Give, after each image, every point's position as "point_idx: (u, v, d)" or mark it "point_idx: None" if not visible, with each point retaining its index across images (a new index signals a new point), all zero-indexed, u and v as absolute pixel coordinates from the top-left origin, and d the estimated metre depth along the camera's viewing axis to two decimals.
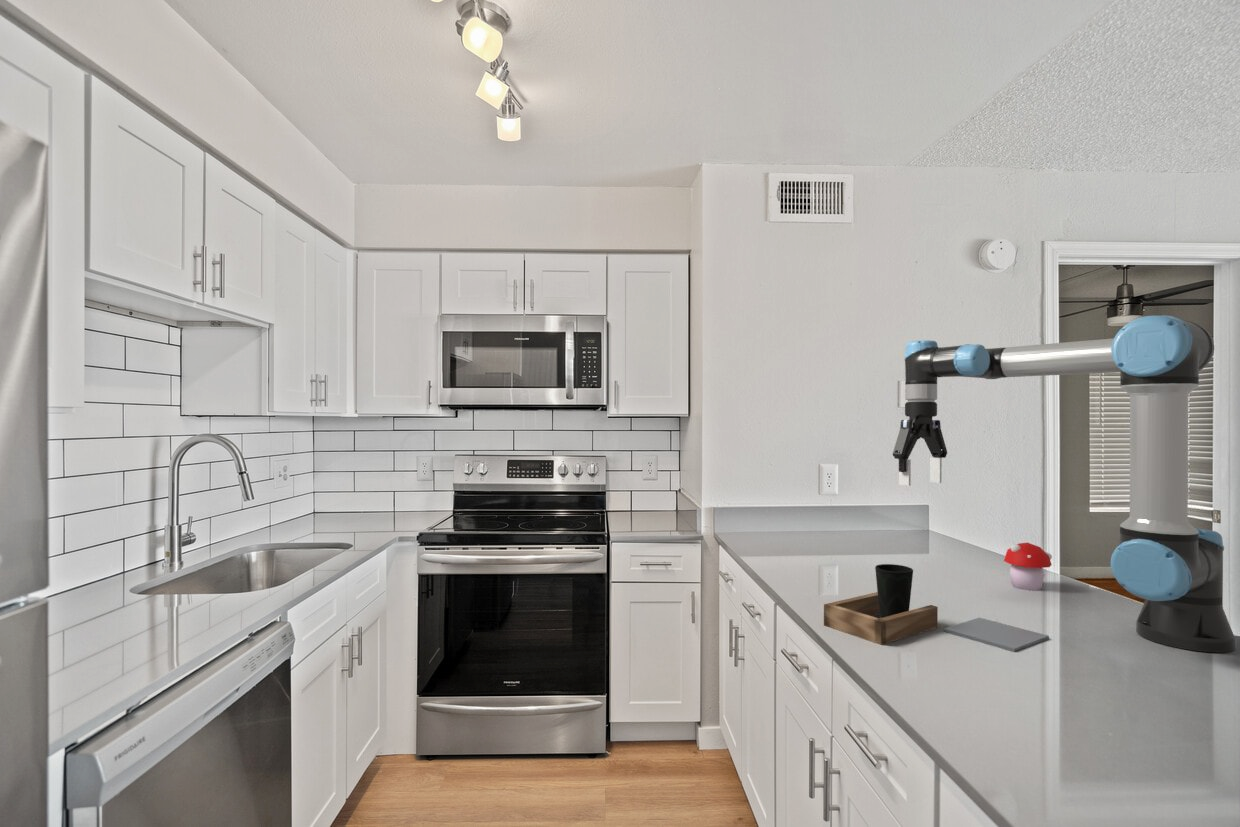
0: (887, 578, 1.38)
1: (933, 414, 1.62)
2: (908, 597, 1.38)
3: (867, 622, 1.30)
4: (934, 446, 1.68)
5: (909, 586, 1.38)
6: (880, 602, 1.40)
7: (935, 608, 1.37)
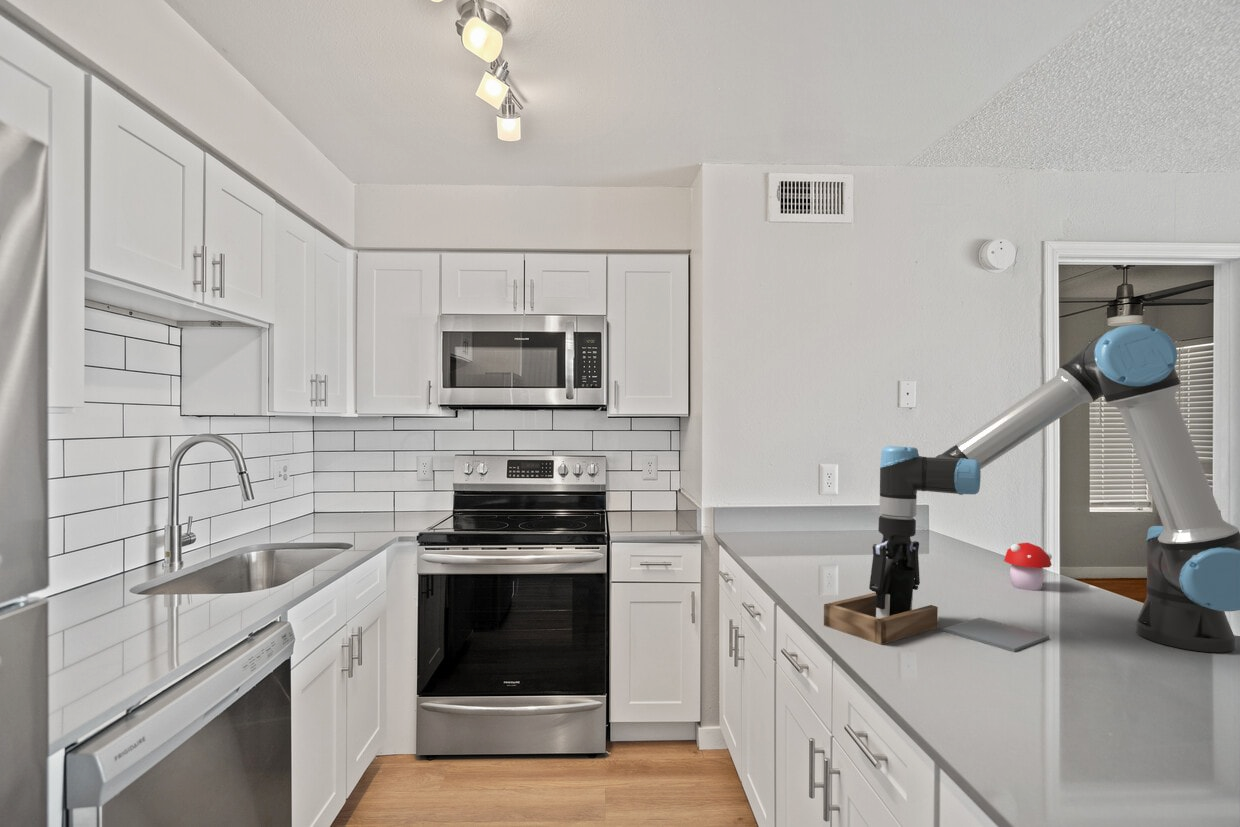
0: None
1: (911, 534, 1.38)
2: (910, 596, 1.38)
3: (867, 622, 1.30)
4: None
5: (911, 585, 1.38)
6: None
7: (935, 608, 1.37)
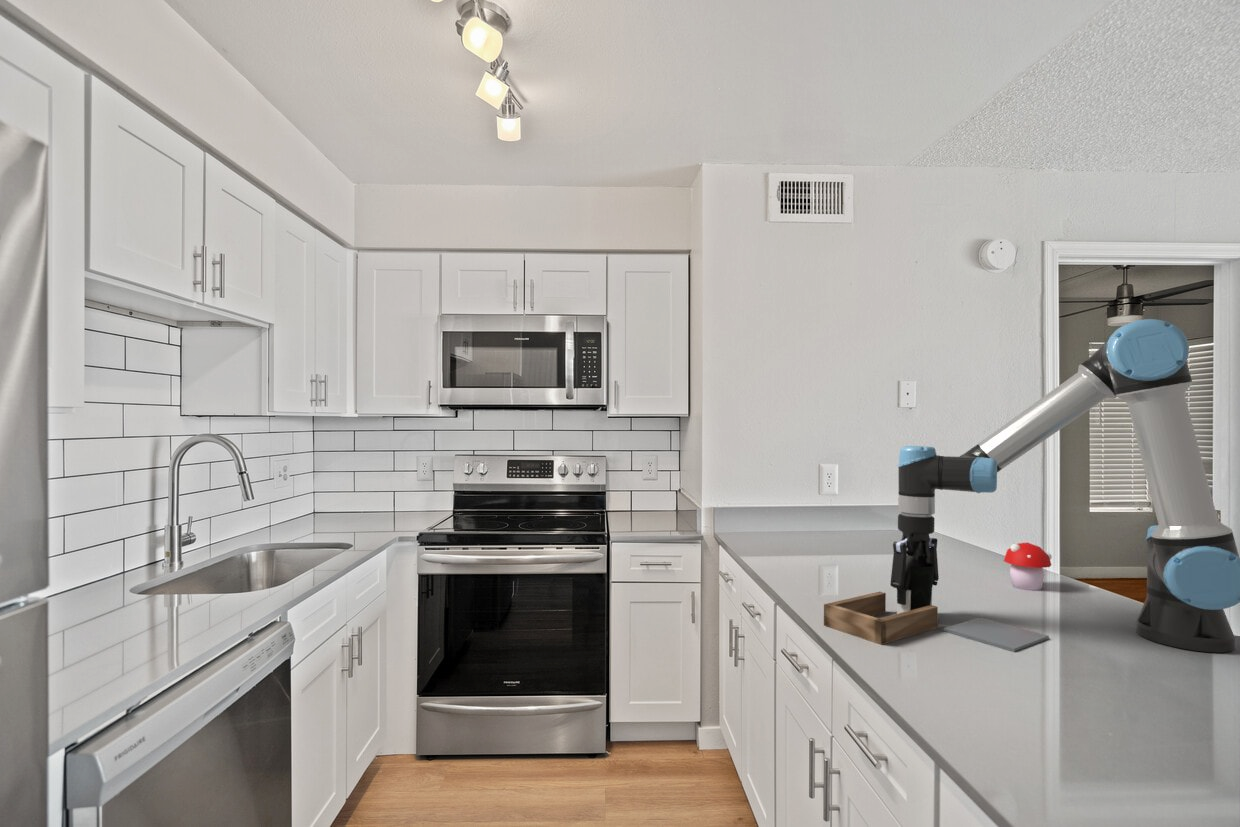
0: None
1: (930, 532, 1.42)
2: (930, 592, 1.42)
3: (867, 622, 1.30)
4: None
5: (931, 581, 1.42)
6: None
7: (935, 608, 1.37)
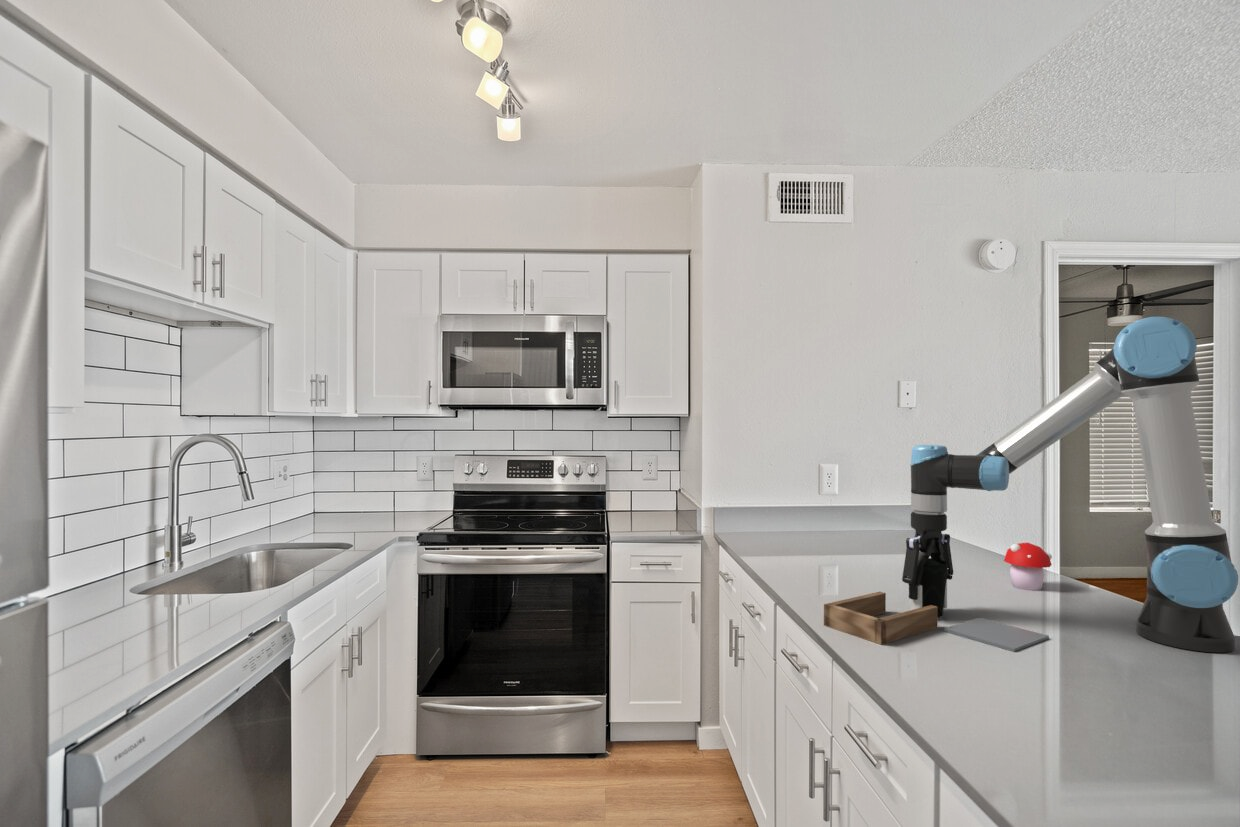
0: (923, 571, 1.45)
1: (942, 529, 1.45)
2: (943, 589, 1.45)
3: (867, 622, 1.30)
4: None
5: (944, 578, 1.45)
6: None
7: (935, 608, 1.37)
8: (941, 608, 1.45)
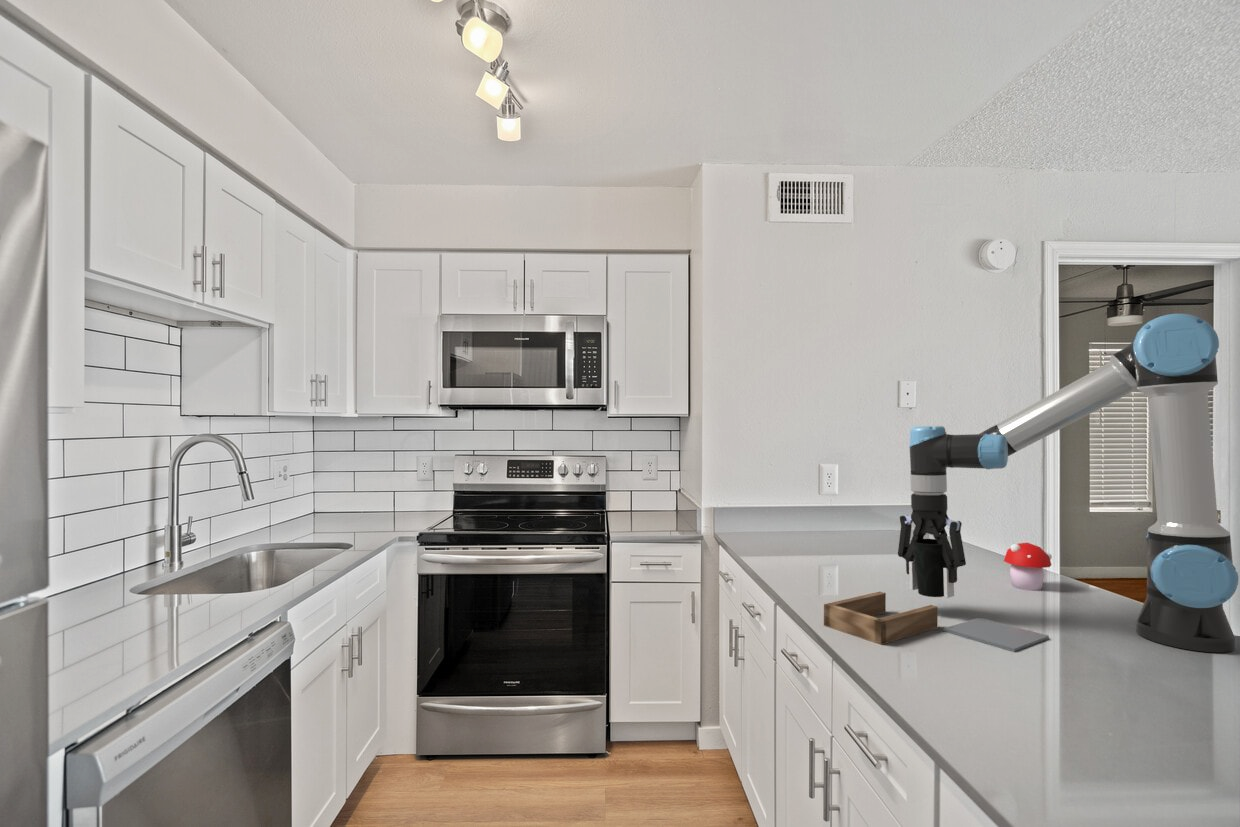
0: (924, 551, 1.45)
1: (918, 509, 1.46)
2: None
3: (867, 622, 1.30)
4: None
5: None
6: (918, 574, 1.47)
7: (935, 608, 1.37)
8: (943, 588, 1.45)
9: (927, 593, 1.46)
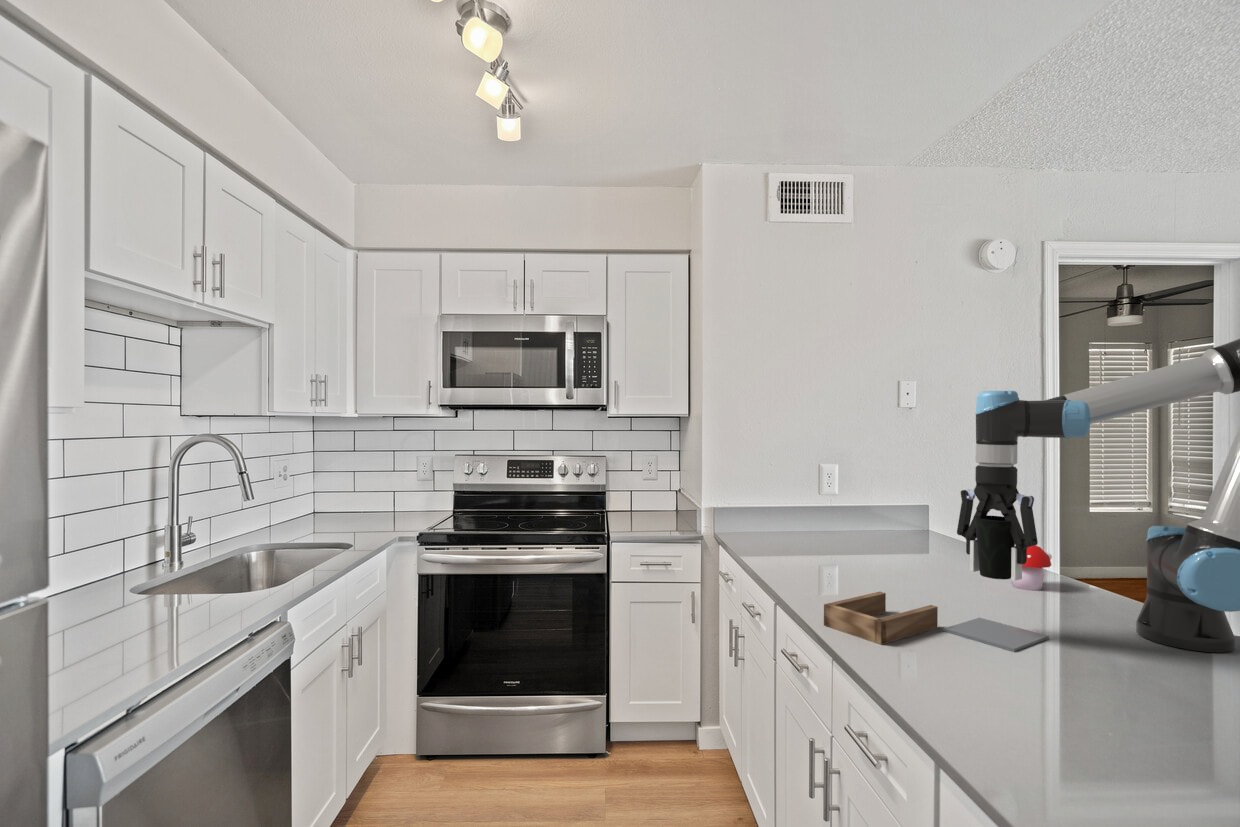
0: (990, 528, 1.31)
1: (984, 482, 1.32)
2: None
3: (867, 622, 1.30)
4: None
5: None
6: (981, 554, 1.33)
7: (935, 608, 1.37)
8: (1010, 569, 1.31)
9: (991, 575, 1.31)
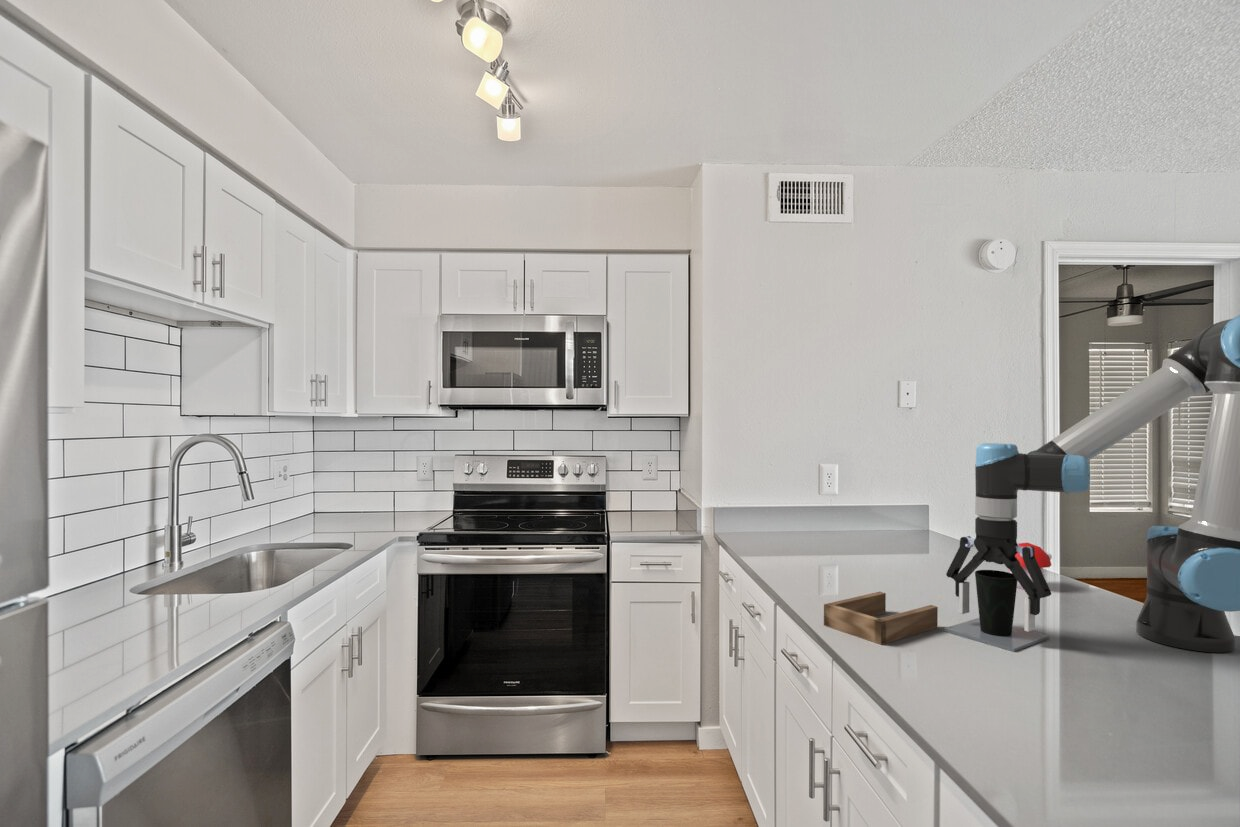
0: (991, 585, 1.31)
1: (984, 535, 1.32)
2: (1013, 605, 1.31)
3: (867, 622, 1.30)
4: None
5: (1014, 593, 1.31)
6: (982, 610, 1.33)
7: (935, 608, 1.37)
8: (1010, 626, 1.31)
9: (992, 631, 1.31)
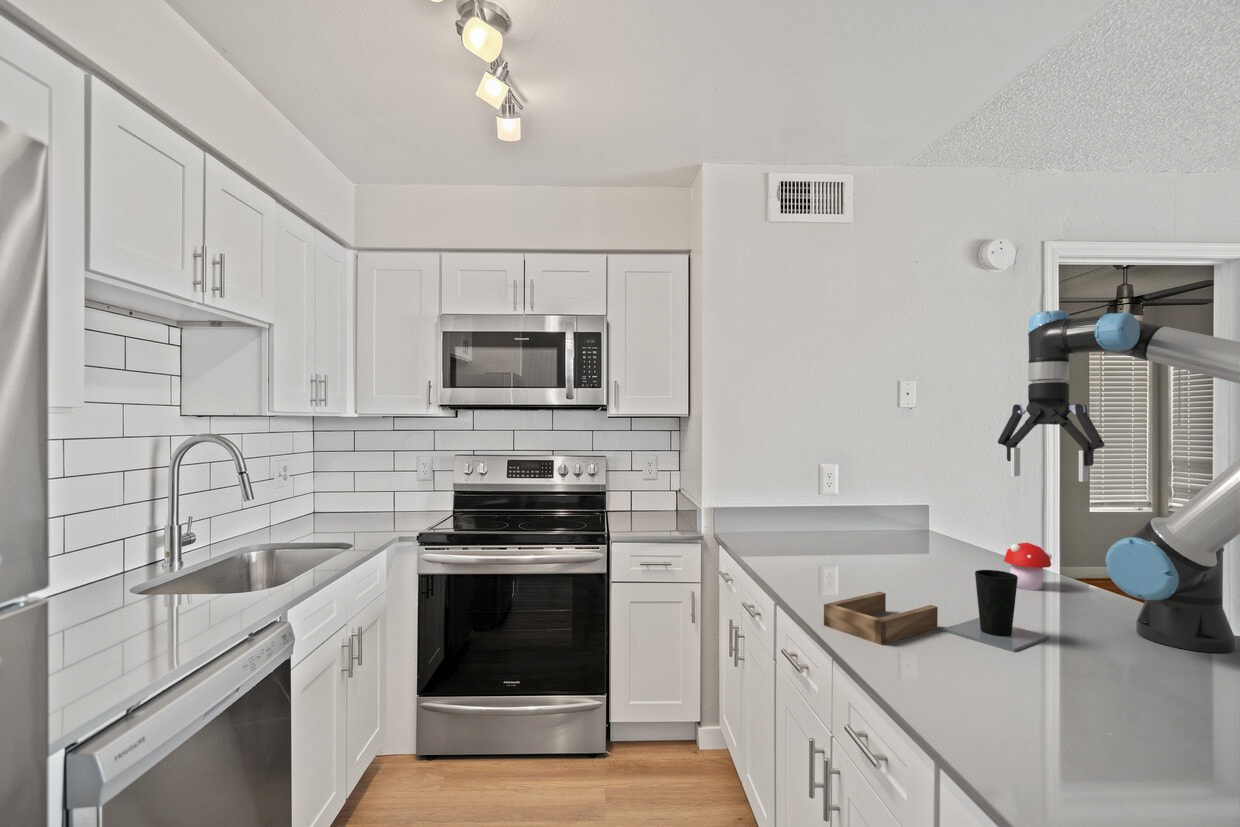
0: (991, 585, 1.31)
1: (1038, 397, 1.40)
2: (1013, 605, 1.31)
3: (867, 622, 1.30)
4: None
5: (1014, 593, 1.31)
6: (982, 610, 1.33)
7: (935, 608, 1.37)
8: (1010, 626, 1.31)
9: (992, 631, 1.31)
